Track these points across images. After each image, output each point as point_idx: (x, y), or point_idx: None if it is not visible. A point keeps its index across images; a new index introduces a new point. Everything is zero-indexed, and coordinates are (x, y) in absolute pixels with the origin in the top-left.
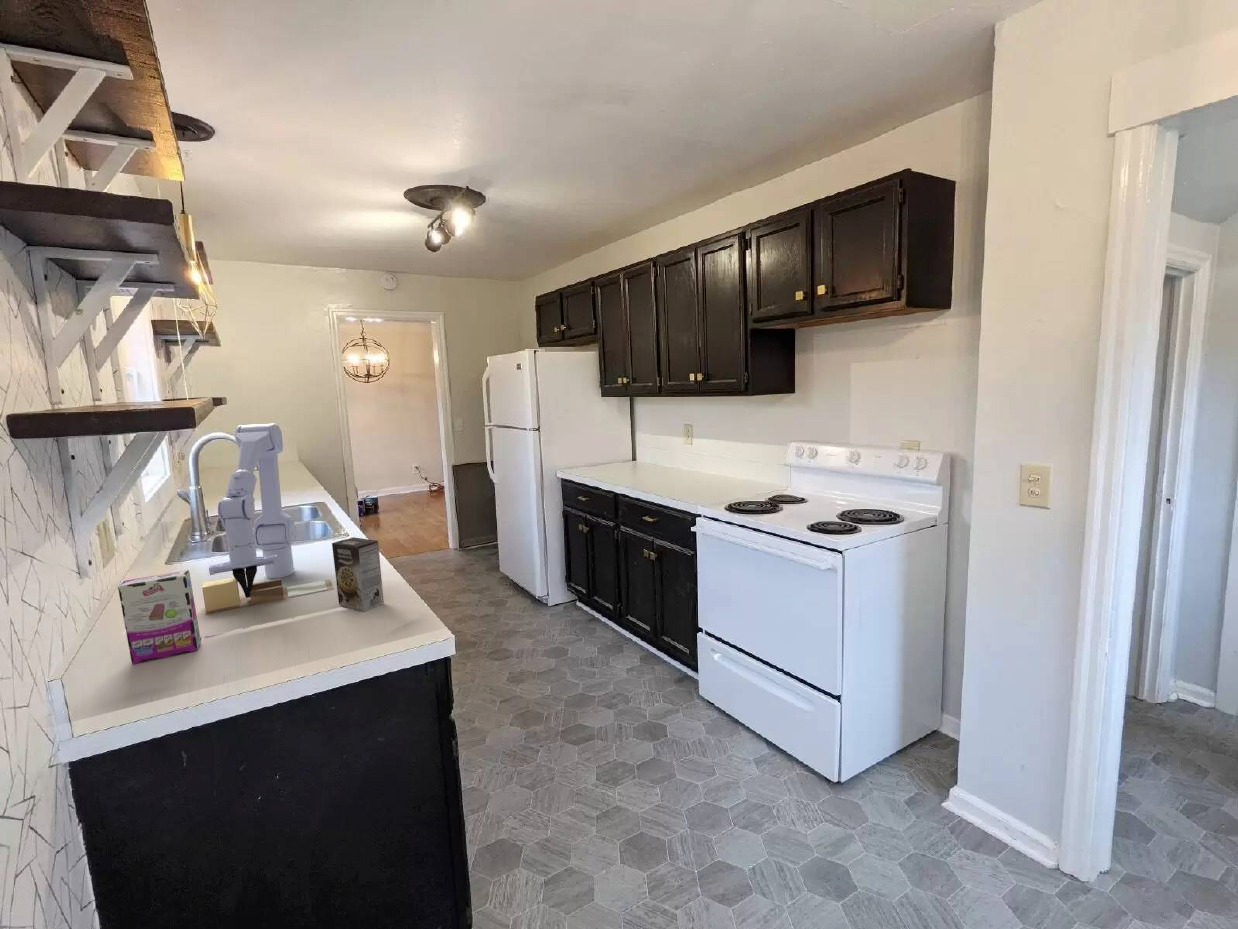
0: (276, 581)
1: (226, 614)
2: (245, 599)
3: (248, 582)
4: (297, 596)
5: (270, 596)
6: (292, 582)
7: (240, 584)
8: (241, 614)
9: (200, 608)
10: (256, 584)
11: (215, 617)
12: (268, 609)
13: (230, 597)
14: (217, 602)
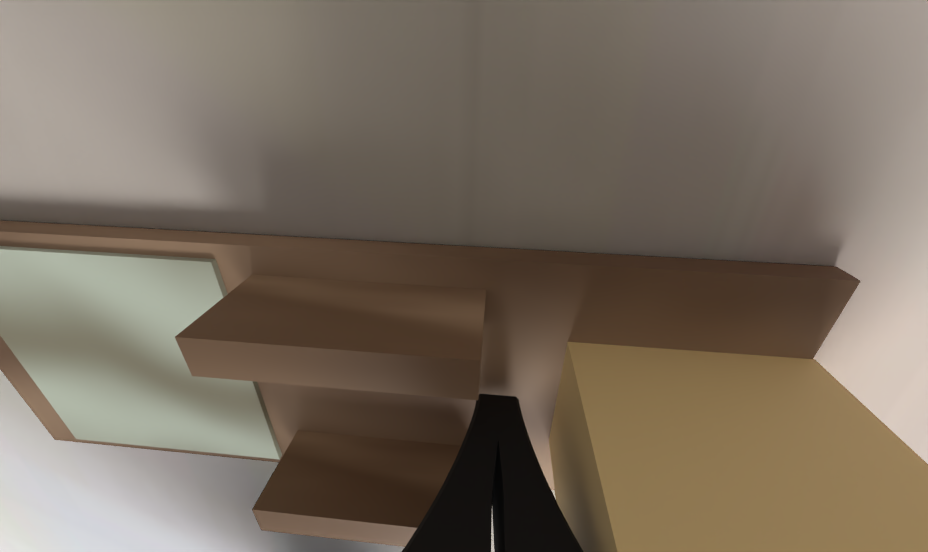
0: (290, 504)
1: (680, 247)
2: None
3: (476, 520)
4: (146, 241)
5: (329, 301)
6: None
7: (563, 523)
8: (581, 154)
9: None
10: None
11: (772, 230)
12: (362, 130)
13: (651, 405)
14: (754, 395)
